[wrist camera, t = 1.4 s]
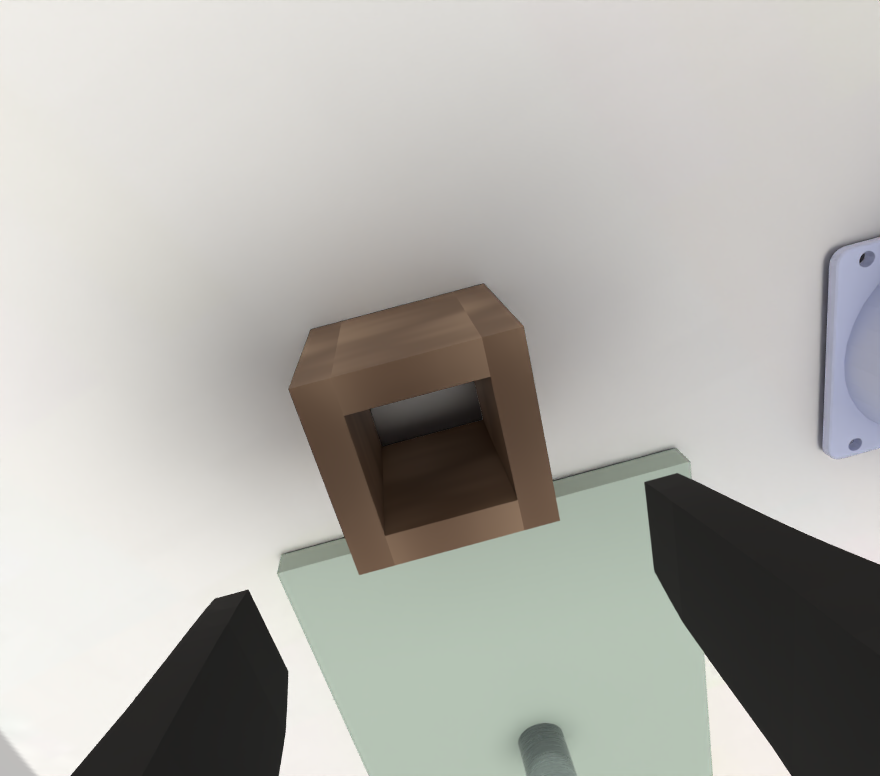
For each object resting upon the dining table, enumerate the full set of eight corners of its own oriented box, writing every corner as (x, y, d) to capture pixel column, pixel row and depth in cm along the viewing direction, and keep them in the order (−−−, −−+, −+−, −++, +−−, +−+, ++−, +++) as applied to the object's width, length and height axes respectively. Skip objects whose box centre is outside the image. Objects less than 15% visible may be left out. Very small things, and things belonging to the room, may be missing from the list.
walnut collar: (483, 283, 17) (523, 326, 13) (515, 436, 20) (560, 520, 15) (310, 329, 17) (288, 388, 13) (362, 478, 20) (359, 575, 15)
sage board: (675, 448, 21) (690, 461, 20) (703, 783, 28) (714, 804, 27) (281, 555, 20) (277, 573, 19) (417, 863, 28) (419, 887, 27)
